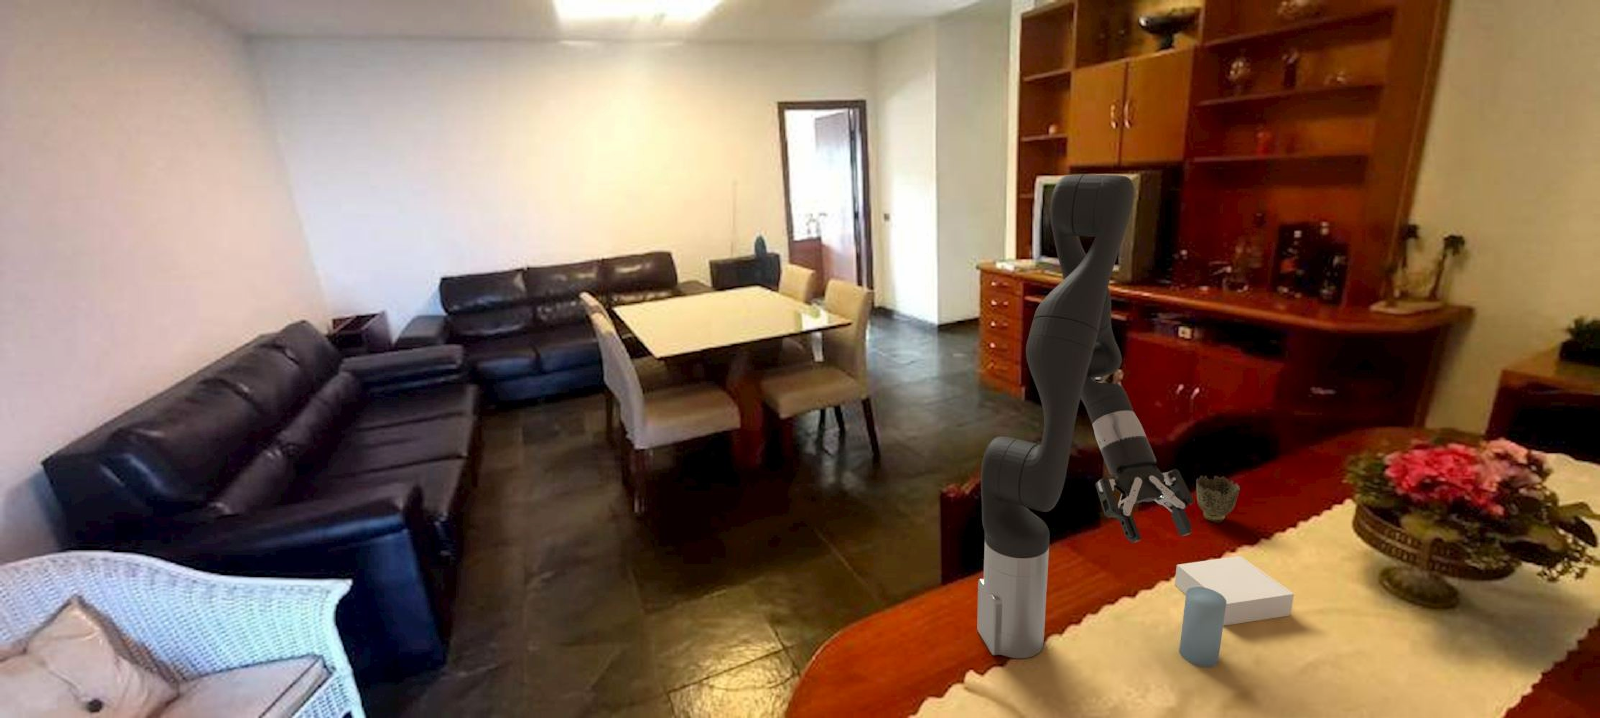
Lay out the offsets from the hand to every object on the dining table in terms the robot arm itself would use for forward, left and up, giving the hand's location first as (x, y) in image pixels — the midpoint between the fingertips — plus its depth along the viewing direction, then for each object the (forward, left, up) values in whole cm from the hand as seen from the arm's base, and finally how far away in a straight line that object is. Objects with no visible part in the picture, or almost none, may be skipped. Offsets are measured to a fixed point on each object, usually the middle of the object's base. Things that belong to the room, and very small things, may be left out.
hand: (1161, 537), depth 105 cm
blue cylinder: (0, -10, -14) cm, 17 cm away
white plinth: (+14, 0, -14) cm, 20 cm away
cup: (+30, +24, -14) cm, 41 cm away
